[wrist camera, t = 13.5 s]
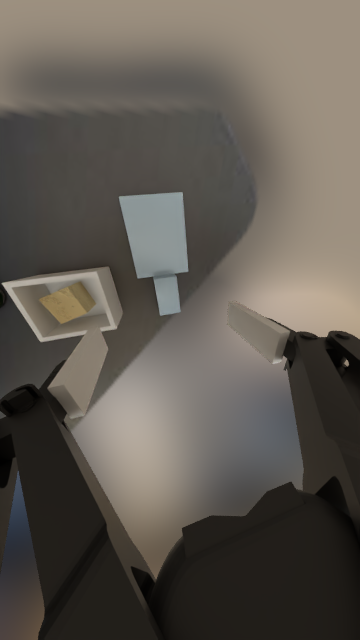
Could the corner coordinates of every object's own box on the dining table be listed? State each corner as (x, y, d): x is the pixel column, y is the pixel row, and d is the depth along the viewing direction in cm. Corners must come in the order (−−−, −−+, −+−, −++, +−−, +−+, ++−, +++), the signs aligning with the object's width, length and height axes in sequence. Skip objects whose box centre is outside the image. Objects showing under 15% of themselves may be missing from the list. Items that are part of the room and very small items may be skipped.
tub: (63, 322, 25) (40, 342, 19) (38, 274, 21) (1, 283, 16) (123, 312, 26) (116, 328, 21) (109, 266, 22) (96, 271, 17)
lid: (119, 198, 19) (113, 188, 16) (181, 194, 21) (187, 183, 17) (145, 310, 27) (145, 318, 24) (189, 302, 28) (194, 309, 25)
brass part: (74, 313, 24) (61, 324, 20) (56, 291, 22) (38, 299, 18) (96, 303, 24) (87, 312, 20) (80, 281, 22) (66, 287, 18)
